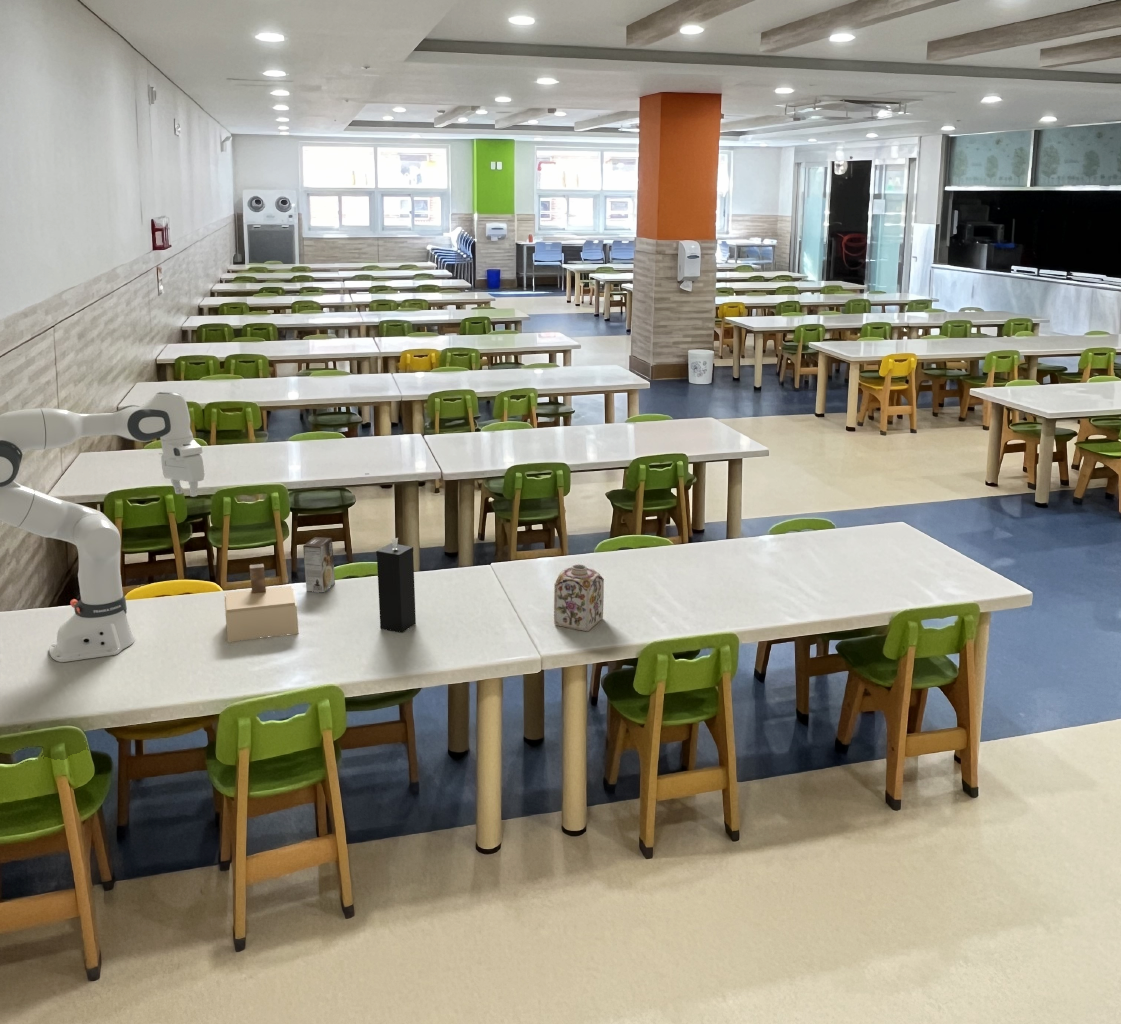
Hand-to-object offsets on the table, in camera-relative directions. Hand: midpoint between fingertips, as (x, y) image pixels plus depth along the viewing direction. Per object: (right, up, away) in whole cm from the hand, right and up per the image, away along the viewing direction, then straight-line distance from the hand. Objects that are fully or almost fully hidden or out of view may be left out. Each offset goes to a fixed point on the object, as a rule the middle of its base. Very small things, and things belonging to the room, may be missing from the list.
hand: (186, 495), depth 312 cm
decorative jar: (+114, -39, +16) cm, 121 cm away
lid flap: (+19, -31, +7) cm, 37 cm away
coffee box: (+29, -30, +43) cm, 60 cm away
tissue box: (+59, -40, +12) cm, 72 cm away
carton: (+19, -40, +10) cm, 45 cm away
